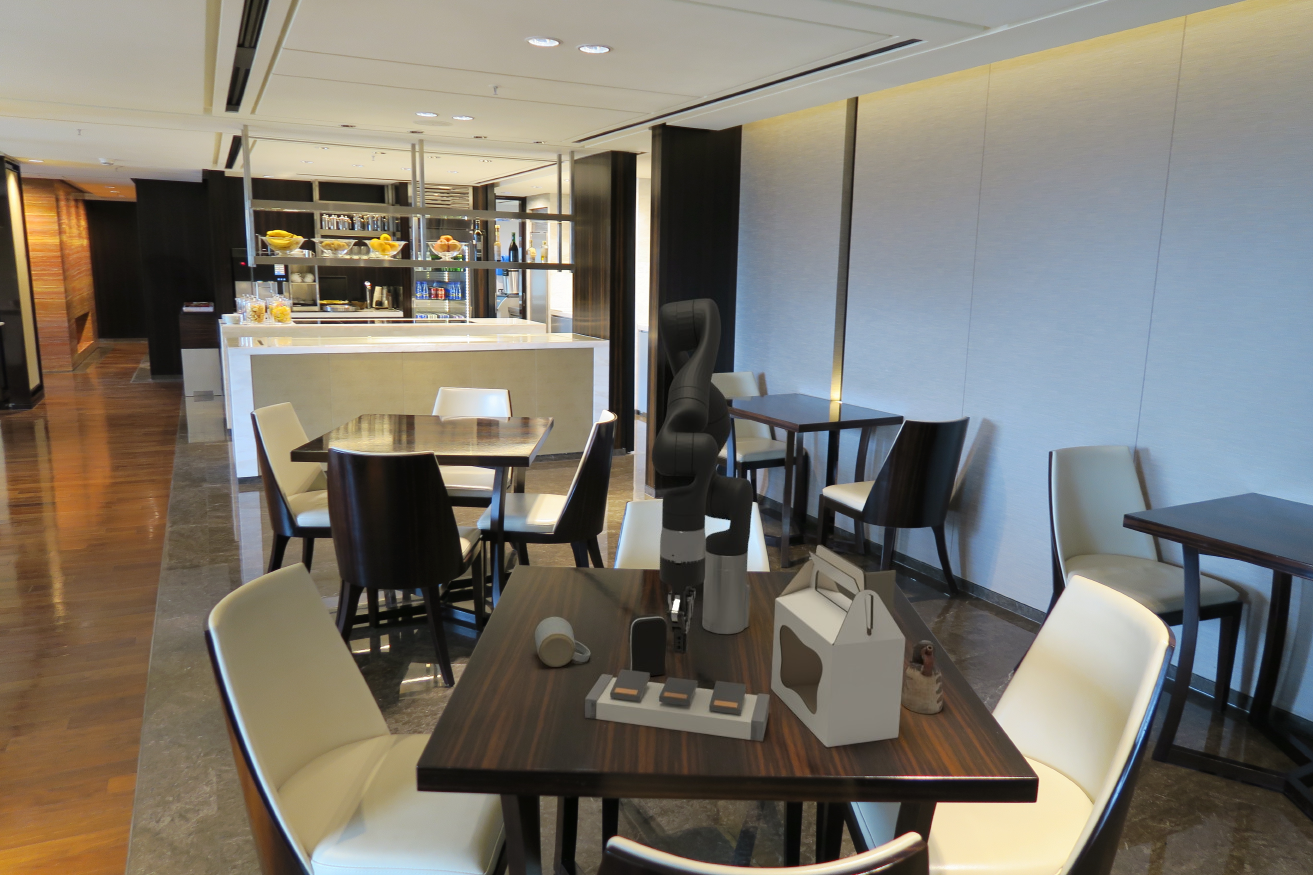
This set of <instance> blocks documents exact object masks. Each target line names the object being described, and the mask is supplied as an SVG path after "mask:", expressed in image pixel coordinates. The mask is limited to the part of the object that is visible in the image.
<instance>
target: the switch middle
mask: <svg viewBox="0 0 1313 875" xmlns="http://www.w3.org/2000/svg"><path fill="white" fill-rule="evenodd" d="M664 684H665V685H664V687H663V689H662V691H661V693H660V696H659V702H665V703H673V704H680V705H688V706H690V704H691V701H692V699H693V696H694V693H695V691H696V688H698V680H693V679H686V678H679V677H678V678H677V677H669V676H668V677H667V679H666V680H665V682H664Z"/></svg>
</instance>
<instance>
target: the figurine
mask: <svg viewBox="0 0 1313 875" xmlns="http://www.w3.org/2000/svg"><path fill="white" fill-rule="evenodd" d="M936 649H937V648H936V646H935V643H933V642H932V641H930V640H925V639H924V640H923V639H922V640H921V641H918V642H916V643H915V644H914V645H913V646H912V656H911V659H910V660H909V665H907V667H906V668H905V670H904V672H903V679H902V693H901V705H902V706H903V707H905V709H907V710H910V711H911V712H914V713H919V714H924V715H933V714H938V713H940V712H941V711H942V709H943V707H944V706H943V705H944V695H943V676H942V672H941V670H940V668H939V667H938V666H937V665H936V664H935V661H934V660H935V656H936Z"/></svg>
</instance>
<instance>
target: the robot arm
mask: <svg viewBox="0 0 1313 875" xmlns="http://www.w3.org/2000/svg"><path fill="white" fill-rule="evenodd" d="M719 310H720V309H719V308H718V305H717V303H716V302H715V301H714V300H713V299H712V298H696V299H687V300H680V301H673V302H669V303H666V304H665V303H664V304H663V305H662V306H661V307H660V308H659V312H658V326H659V332H660V336H661V341H662V343H663V347H664V350H665V352H666V356H667V360H668V363H669V366H670V370H671V372H672V376H673V379H672V381H671V384H670V386H669V389H668V395H667V406H666V415H665V419H664V422H663V424H662V426H661V428H660V430H659V432H658V434H657V435H656V438H655V440H654V443H653V445H652V450H651V462H652V465H653V467H654V469H655V470H656V472H658V474H660V475H663V476H672V477H676V476H677V477H694V480H693V482H692V483H691V484H689V485H686V486H683V487H676V488H672V489H669V490H667V491H665V493H663V497H662V504H661V505H662V511H661V513H662V515H661V530H660V531H661V532H660V540H659V579H660V581H661V582H663V583H664V584H665V585H669V586H670V587H671V590H670V592H668V594H667V603H668V606H669V608H668V609H667V611H666V612H665V613H666V618H667V623H668V628H669V633H670V634H673V640H672V641H673V642H672V643H673V644H672V645H673V647H672V649H673V650H672V652H673V653H675V654H680V655H686V653H687V651H688V650H689V630H690V628H691V624H690V623H691V622H692V620H693V614H694V604H695V598H696V593H697V590H696V588H695V586H698V585H701V584H702V583H703V594H702V595H703V596H702V599H703V600H702V624H701V626H702V627H703V629H705V630H706V631H708V632H711V633H714V634H720V635H732V634H738V633H741V632H742V631H744V629H746V628H749V624H750V601H751V598H750V597H751V585H750V584H748V583H747V579H748V560H749V558H748V556H749V554H748V553H749V541H750V537H751V525H752V524H751V522H752V512H753V505H754V504H753V503H754V502H753V501H754V489H753V485H752V482H750V480H749V479H747V478H743V477H736V476H728V475H720V474H719V473H718V471H717V468H716V465H717V461H718V459H719V458H718V457H719V455H720V453H721V452H722V450H723V449H724V447H725V445H726V444H727V441H728V439H729V437H730V435H731V432H732V431H731V430H732V423H731V416H730V411H729V408H728V407H729V406H728V403H727V399H726V397H725V395H724V394H723V392H722V391H721V390H720V388H718V387H717V386H716V384H714V383H713V382H712V378H713V375H714V369H715V367H716V362H717V361H716V360H717V358H718V353H719V347H720V342H721V336H722V324H721V322H722V321H721V316H720V311H719ZM688 351H694V352H693V353H692V356H691V357H690V355H689V354H688ZM706 517H708V518H712V519H717V520H718V519H719V520H724V521H729V527H728V528H727V529H725V530H720V531H715V532H713V533H710V534H708V535H707V536H706Z"/></svg>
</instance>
